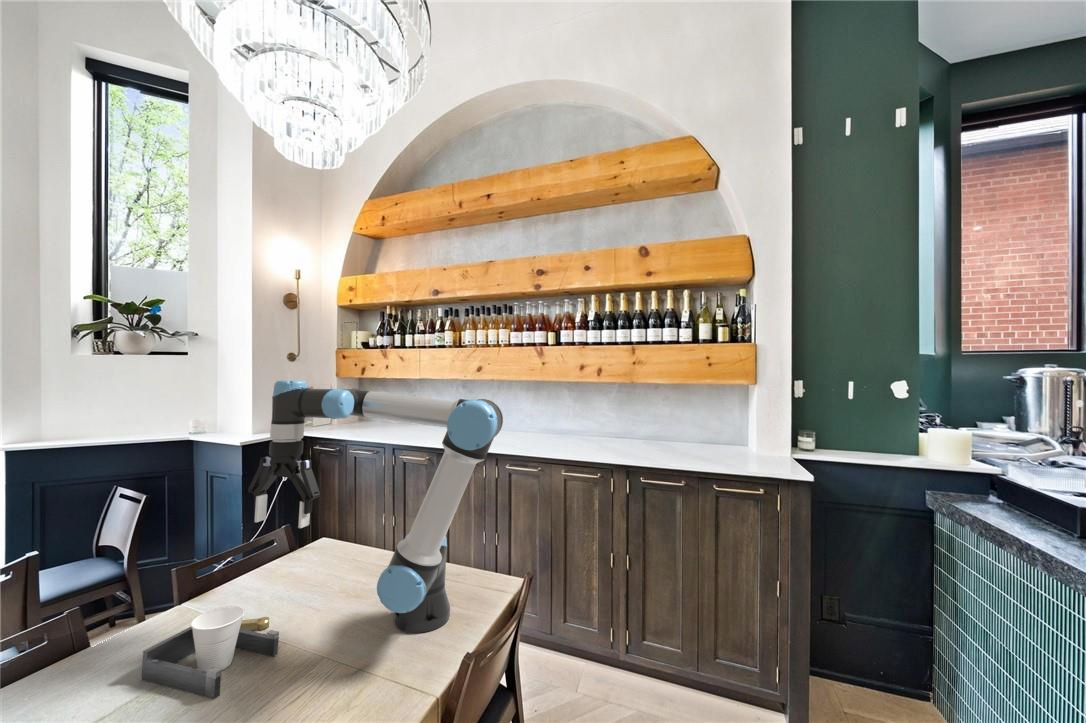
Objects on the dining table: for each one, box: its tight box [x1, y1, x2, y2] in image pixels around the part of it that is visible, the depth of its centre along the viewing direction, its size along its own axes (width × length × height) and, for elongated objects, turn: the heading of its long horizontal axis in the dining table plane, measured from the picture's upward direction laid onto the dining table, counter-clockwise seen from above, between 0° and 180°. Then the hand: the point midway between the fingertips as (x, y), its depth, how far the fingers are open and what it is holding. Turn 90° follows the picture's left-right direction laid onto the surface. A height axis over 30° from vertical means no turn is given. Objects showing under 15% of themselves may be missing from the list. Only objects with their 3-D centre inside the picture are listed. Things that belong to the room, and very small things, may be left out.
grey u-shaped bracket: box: [140, 626, 280, 700], centre depth 97 cm, size 20×15×6 cm
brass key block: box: [240, 616, 270, 632], centre depth 112 cm, size 7×3×2 cm, turn 106°
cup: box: [190, 605, 246, 672], centre depth 97 cm, size 10×10×11 cm
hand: (281, 523), depth 109 cm, fingers open, 13 cm apart
